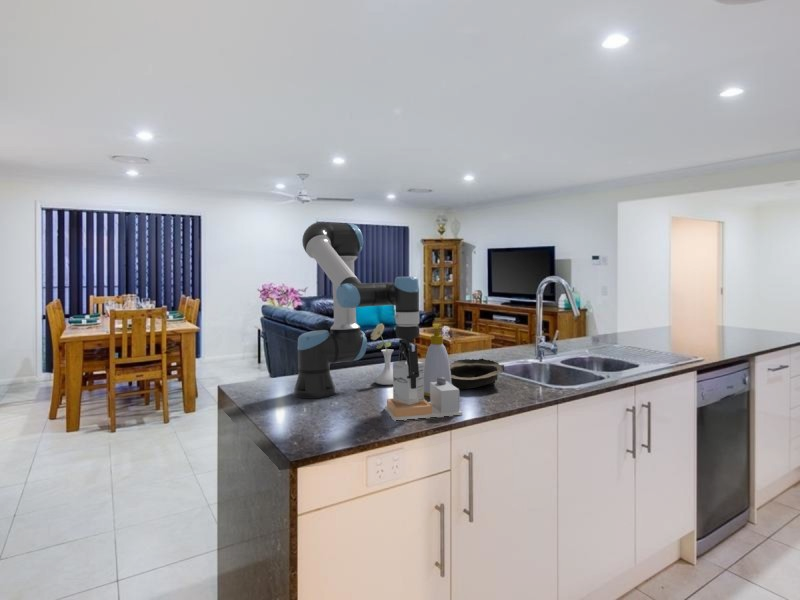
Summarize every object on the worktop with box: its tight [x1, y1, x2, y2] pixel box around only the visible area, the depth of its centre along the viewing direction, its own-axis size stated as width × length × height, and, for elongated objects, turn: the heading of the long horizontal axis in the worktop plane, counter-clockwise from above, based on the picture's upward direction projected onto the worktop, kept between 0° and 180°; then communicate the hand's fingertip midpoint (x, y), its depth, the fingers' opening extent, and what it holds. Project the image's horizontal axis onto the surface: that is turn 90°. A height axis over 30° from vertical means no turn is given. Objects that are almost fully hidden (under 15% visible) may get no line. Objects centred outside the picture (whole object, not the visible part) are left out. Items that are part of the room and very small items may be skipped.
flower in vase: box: [370, 323, 394, 386], centre depth 192 cm, size 13×11×25 cm
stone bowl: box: [450, 357, 505, 390], centre depth 187 cm, size 25×25×9 cm
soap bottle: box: [424, 323, 453, 398], centre depth 175 cm, size 11×12×26 cm
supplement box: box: [392, 360, 425, 405], centre depth 152 cm, size 7×7×13 cm
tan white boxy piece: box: [384, 377, 463, 422], centre depth 153 cm, size 22×14×10 cm, turn 103°
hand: (408, 394), depth 152 cm, fingers closed on supplement box, 10 cm apart
